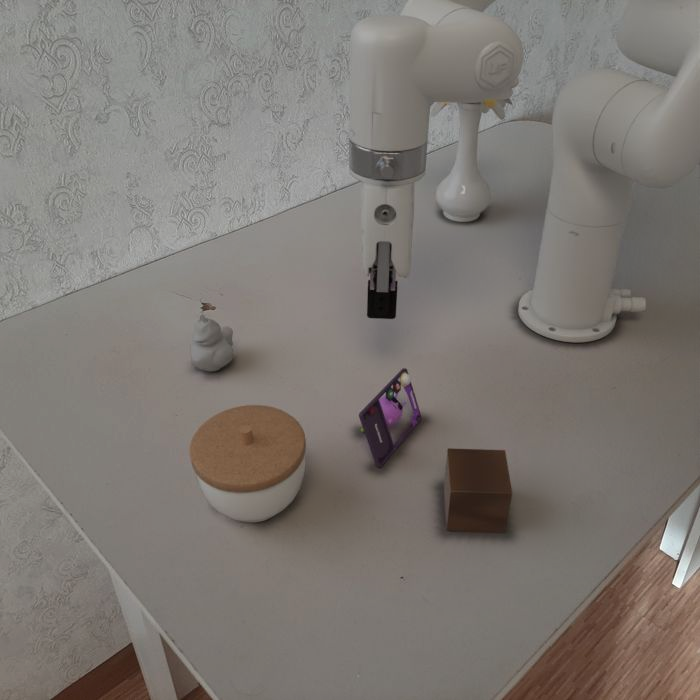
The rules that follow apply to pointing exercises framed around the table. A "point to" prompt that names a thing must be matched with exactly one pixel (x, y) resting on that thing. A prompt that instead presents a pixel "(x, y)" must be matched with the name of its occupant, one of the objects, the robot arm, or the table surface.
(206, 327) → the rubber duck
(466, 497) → the walnut block
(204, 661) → the table surface
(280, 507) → the trinket box
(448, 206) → the flower vase
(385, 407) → the game card
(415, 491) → the table surface
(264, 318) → the table surface
